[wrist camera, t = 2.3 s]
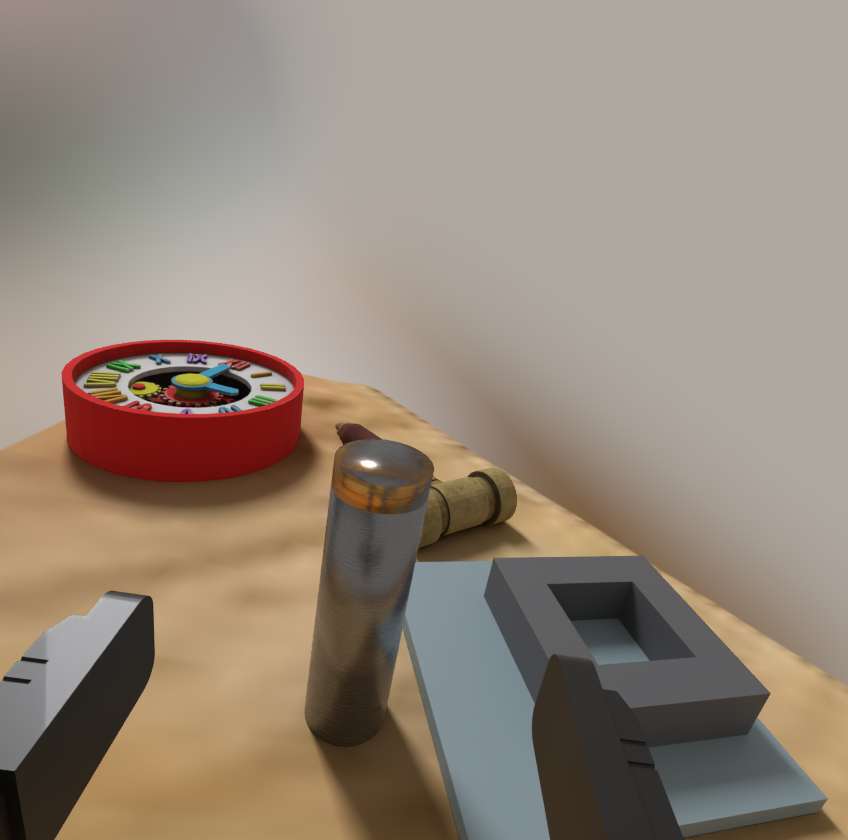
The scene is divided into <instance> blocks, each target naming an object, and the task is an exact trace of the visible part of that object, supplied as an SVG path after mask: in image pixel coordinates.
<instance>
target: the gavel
mask: <svg viewBox="0 0 848 840" xmlns="http://www.w3.org/2000/svg"><path fill="white" fill-rule="evenodd" d="M336 429H337V430H338V433H339V435H340V436H341V438H342V441H343V443H344V444H346V443H349V442H352V441H356V440H363V439H381V438H379V437H378V436H376V435H375V434H373V433H372V432H370V431H369V430H367V429H366V428H364V427H363V426H361V425H359V424H350V423H347V422H345V423H343V422H338V423H336ZM516 506H517V495H516V490H515V487H514V484H513V482H512V480H511V479H510V477H509V476H508V475H507V474H506V473H505V472H504V471H502V470H501V469H498V468H487V469H483V470H479V471H475V472H472V473H471V474H469V475H468V477H465V478H461V479H456V480H452V481H448V482H442V481H439V480H438V479H437V478H435V477H434V476H433V477H432V482H431V487H430V492H429V497H428V502H427V507H426V512H425V517H424V522H423V527H422V532H421V537H420V542H419V547H418V548H420V547H423V546H427V545H430V544H433V543H434V542H436V541H437V540H438V538H439V537H441V536H444V535H448V534H451V533H454V532H457V531H461V530H464V529H467V528H470V527H474V526H477V525H480V524H482V523H484V524H485V525H487V526H490V525H493V524H497V523H500V522H503V521H506V520H508V519H510V518H511V517H512V516H513V514H514V512H515V510H516Z"/></svg>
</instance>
